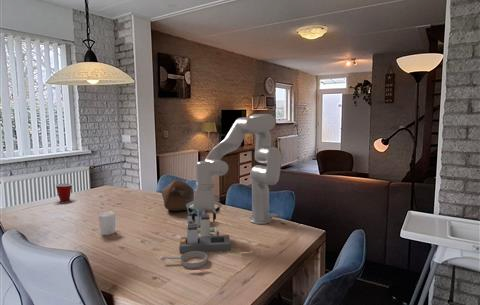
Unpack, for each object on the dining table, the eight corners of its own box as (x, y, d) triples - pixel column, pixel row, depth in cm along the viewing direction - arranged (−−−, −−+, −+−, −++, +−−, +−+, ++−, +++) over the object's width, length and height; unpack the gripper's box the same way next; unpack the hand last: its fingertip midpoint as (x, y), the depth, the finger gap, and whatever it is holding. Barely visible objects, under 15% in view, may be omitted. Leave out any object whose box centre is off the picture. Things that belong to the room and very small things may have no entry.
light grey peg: (198, 245, 141) (197, 223, 140) (197, 249, 137) (197, 227, 136) (188, 245, 141) (187, 224, 140) (187, 249, 136) (186, 228, 135)
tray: (216, 232, 159) (216, 227, 159) (217, 240, 149) (216, 235, 148) (194, 233, 158) (194, 228, 158) (193, 241, 147) (193, 236, 147)
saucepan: (206, 271, 120) (206, 261, 120) (159, 272, 119) (159, 263, 119) (208, 258, 131) (208, 249, 130) (165, 259, 130) (165, 250, 130)
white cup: (119, 230, 163) (118, 212, 161) (108, 236, 155) (107, 217, 154) (107, 229, 165) (106, 211, 164) (96, 234, 158) (94, 215, 156)
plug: (210, 233, 156) (209, 214, 155) (210, 237, 151) (209, 217, 150) (200, 234, 155) (200, 214, 154) (200, 237, 151) (200, 217, 150)
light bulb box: (199, 227, 167) (198, 207, 166) (187, 226, 168) (186, 207, 167) (205, 220, 177) (204, 202, 176) (194, 219, 179) (193, 201, 177)
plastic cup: (76, 200, 222) (75, 183, 221) (59, 203, 214) (58, 186, 213) (70, 197, 230) (69, 181, 228) (54, 200, 222) (52, 184, 220)
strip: (229, 243, 146) (228, 233, 145) (230, 252, 136) (230, 242, 135) (181, 245, 143) (181, 236, 143) (179, 255, 134) (179, 245, 133)
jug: (155, 214, 189) (204, 222, 189) (158, 185, 183) (208, 193, 183) (165, 198, 209) (209, 206, 208) (167, 172, 202) (213, 179, 202)
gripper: (221, 184, 155) (221, 218, 157) (186, 185, 153) (186, 219, 155) (222, 188, 147) (222, 223, 149) (185, 188, 146) (185, 224, 147)
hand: (204, 221), depth 152 cm, fingers open, 9 cm apart
